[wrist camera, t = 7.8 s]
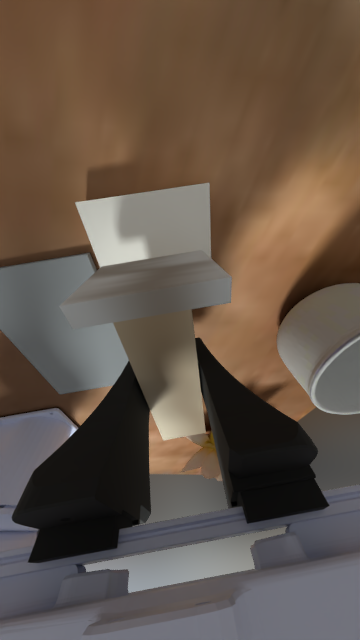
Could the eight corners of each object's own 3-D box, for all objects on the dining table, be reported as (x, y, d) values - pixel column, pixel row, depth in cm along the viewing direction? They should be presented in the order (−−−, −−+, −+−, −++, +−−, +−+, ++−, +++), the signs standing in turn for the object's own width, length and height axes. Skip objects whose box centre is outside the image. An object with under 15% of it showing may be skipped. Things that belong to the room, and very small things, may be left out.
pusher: (146, 383, 16) (142, 444, 12) (101, 266, 10) (59, 305, 6) (209, 372, 16) (226, 429, 12) (201, 249, 10) (231, 277, 6)
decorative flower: (186, 461, 34) (197, 537, 24) (170, 421, 30) (175, 494, 21) (258, 438, 34) (295, 506, 25) (251, 396, 30) (292, 457, 21)
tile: (115, 306, 14) (74, 202, 10) (120, 294, 16) (87, 203, 12) (211, 290, 14) (209, 182, 10) (205, 281, 16) (202, 186, 12)
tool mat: (62, 390, 21) (59, 394, 21) (-40, 273, 13) (-49, 276, 12) (140, 376, 21) (140, 380, 21) (89, 252, 13) (86, 254, 13)
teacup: (262, 361, 22) (305, 426, 16) (262, 287, 16) (334, 341, 10) (371, 333, 21) (467, 389, 15) (414, 244, 15) (608, 270, 9)
